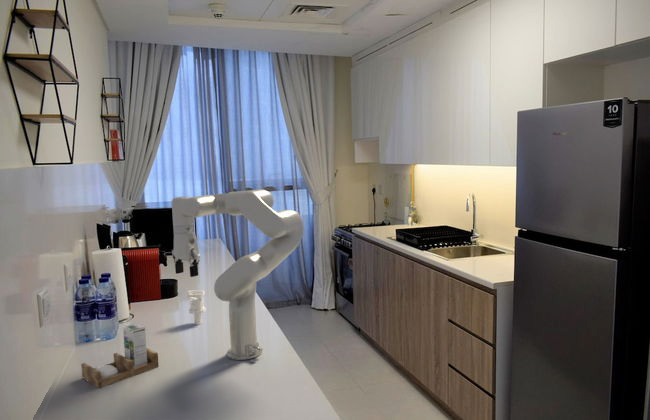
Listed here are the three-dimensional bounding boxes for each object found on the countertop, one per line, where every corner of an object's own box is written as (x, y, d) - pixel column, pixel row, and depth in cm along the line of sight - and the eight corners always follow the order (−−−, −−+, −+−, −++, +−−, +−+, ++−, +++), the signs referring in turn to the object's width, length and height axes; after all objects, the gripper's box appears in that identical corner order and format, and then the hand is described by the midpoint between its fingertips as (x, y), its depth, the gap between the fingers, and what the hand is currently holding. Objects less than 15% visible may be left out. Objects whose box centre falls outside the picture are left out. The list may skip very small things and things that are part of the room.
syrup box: (124, 367, 179) (121, 327, 177) (140, 362, 183) (137, 322, 182) (132, 371, 175) (129, 330, 173) (148, 366, 179) (145, 326, 178)
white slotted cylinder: (188, 322, 226) (186, 289, 224) (204, 319, 229) (202, 287, 228) (192, 327, 220) (189, 293, 218) (208, 324, 223) (206, 290, 221)
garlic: (89, 378, 171) (88, 367, 171) (108, 371, 177) (107, 360, 177) (103, 383, 167) (102, 372, 167) (122, 376, 173) (121, 365, 172)
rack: (158, 366, 179) (157, 352, 178) (98, 388, 163) (97, 373, 163) (141, 358, 187) (140, 345, 186) (82, 378, 171) (81, 363, 171)
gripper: (205, 230, 189) (208, 275, 191) (179, 226, 200) (182, 269, 202) (188, 232, 183) (191, 279, 185) (162, 229, 195) (165, 273, 197)
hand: (186, 274), depth 194 cm, fingers open, 9 cm apart
